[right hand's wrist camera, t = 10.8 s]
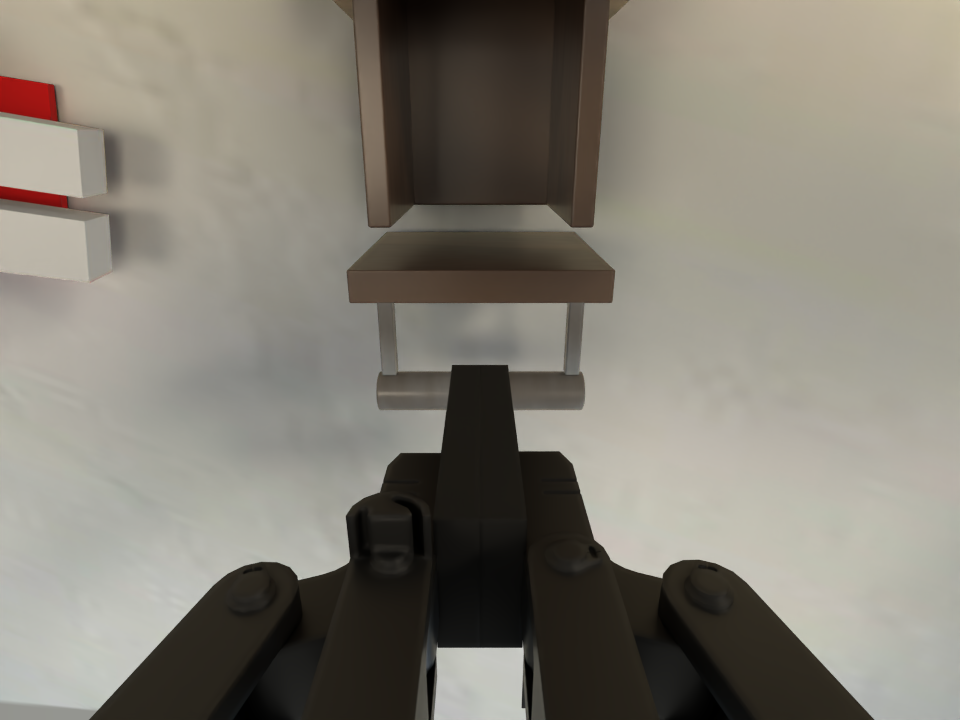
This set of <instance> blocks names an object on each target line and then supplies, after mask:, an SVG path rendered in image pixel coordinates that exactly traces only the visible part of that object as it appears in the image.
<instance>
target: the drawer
mask: <svg viewBox="0 0 960 720" xmlns="http://www.w3.org/2000/svg"><path fill="white" fill-rule="evenodd" d="M352 11H353V25H354V38H355V52H356V66H357V79H358V93H359V106H360V120H361V134H362V147H363V161H364V175H365V188H366V202H367V216H368V226H369V227H371V228H389V227H391V226H392V225H393V224H394V223H395V222H396V221H397V220H399V219H400V218H401V217H402V216H403V215H404V214H405V213H406V212H407V211H408V210H409V209H410V208H411V207H412V206H413V205H548V206H549V207H550V208H551V209H552V210H553V211H555V212H556V213H557V214H558V215H559V216H560V217H561V218H562V219H563V220H564V221H565V222H566V223H568V224H569V225H570V226H571V227H593V225H594V213H595V199H596V186H597V172H598V159H599V145H600V132H601V118H602V105H603V91H604V78H605V65H606V51H607V38H608V24H609V11H610V0H352ZM614 278H615V270H614V269H613V268H612V267H611V266H610V265H609V264H608V263H606V262H605V261H604V260H603V259H602V258H601V257H600V256H599V255H598V254H597V253H596V252H595V251H594V250H593V249H592V248H591V247H590V246H589V245H588V244H586V243H585V242H584V241H583V240H582V239H581V238H580V237H579V236H578V235H577V234H576V233H575V232H386V233H385V234H384V235H383V236H382V237H381V238H380V239H379V240H378V241H377V242H376V243H375V244H374V245H373V246H372V247H371V248H370V249H369V250H368V251H367V252H366V253H365V254H364V255H363V256H362V257H360V258H359V259H358V260H357V261H356V262H355V263H354V264H353V265H352V266H351V267H350V268H349V269H348V270H347V280H348V291H349V302H350V303H377V307H378V321H379V335H380V349H381V363H382V372H380V373H379V375H378V379H377V404H378V407H379V409H380V410H447V403H448V395H449V387H450V379H451V372H398V359H397V342H396V325H395V308H394V303H567V319H566V336H565V353H564V371H528V372H509V379H510V387H511V395H512V403H513V410H582V409H583V406H584V401H585V383H584V377H583V374H582V372H580V371H579V370H580V356H581V342H582V328H583V314H584V303H612V300H613V289H614Z"/></svg>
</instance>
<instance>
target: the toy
mask: <svg viewBox="0 0 960 720" xmlns="http://www.w3.org/2000/svg"><path fill="white" fill-rule="evenodd" d="M105 193H107V178H106V163H105V147H104V131H103V130H102V129H97V128H91V127H85V126H79V125H74V124H68V123H62V122H58V118H57V109H56V100H55V92H54V85H52V84H46V83H40V82H33V81H27V80H21V79H15V78H9V77H3V76H0V272H5V273H13V274H22V275H30V276H38V277H46V278H54V279H62V280H70V281H78V282H86V283H90V282H92V281H94V280H96V279H98V278H100V277H102V276H104V275H106V274H109V273H111V272H112V257H111V241H110V226H109V214H102V213H95V212H88V211H81V210H75V209H68V205H67V197H66V196H71V197H78V198H86V197H91V196H95V195H100V194H105Z"/></svg>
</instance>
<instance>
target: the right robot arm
mask: <svg viewBox="0 0 960 720" xmlns="http://www.w3.org/2000/svg"><path fill="white" fill-rule="evenodd" d="M346 522H347V532H348V541H349V550H350V561H349V563H348V564H347V565H345V566H343V567H341V568H339V569H337V570H335V571H332V572H329V573H326V574H323V575H319V576H315V577H311V578H306V579H302V580H298V579H297V575H296V574H295V573H294V572H293V571H292V569H291V568H290V567H288V566H285V565H283V564H280V563H277V562H259V563H255V564H250V565H246V566H243V567H241V568H239V569H237V570H235V571H233V572H231V573H228V574H227V575H226V576H224V577H223V578H222V579H221V580H220V581H218V582H217V583H216V584H215V585H214V586H213V587H212V588H211V589H210V590H209V591H208V592H207V593H206V594H205V595H204V596H203V597H202V599H201V600H200V601H199V602H198V603H197V604H196V605H195V606H194V607H193V608H192V609H191V610H190V611H189V613H188V614H187V615H186V616H185V617H184V618H183V619H182V620H181V621H180V622H179V623H178V624H177V625H176V627H175V628H174V629H173V630H172V631H171V632H170V633H169V634H168V635H167V636H166V637H165V638H164V640H163V641H162V642H161V643H160V644H159V645H158V646H157V647H156V648H155V649H154V650H153V651H152V652H151V654H150V655H149V656H148V657H147V658H146V659H145V660H144V661H143V662H142V663H141V664H140V665H139V667H138V668H137V669H136V670H135V671H134V672H133V673H132V674H131V675H130V676H129V677H128V678H127V679H126V681H125V682H124V683H123V684H122V685H121V686H120V687H119V688H118V689H117V690H116V691H115V692H114V694H113V695H112V696H111V697H110V698H109V699H108V700H107V701H106V702H105V703H104V704H103V705H102V706H101V708H100V709H99V710H98V711H97V712H96V713H95V714H94V715H93V716H92V717H91V718H90V719H89V720H434V709H435V696H436V683H437V663H436V650H437V645H438V648H522V645H523V648H524V663H523V688H522V708H526V720H874V719H873V718H872V717H871V716H870V715H869V714H868V713H867V711H866V710H865V709H864V708H863V707H862V706H861V705H860V704H859V703H858V702H857V701H856V700H855V699H854V697H853V696H852V695H851V694H850V693H849V692H848V691H847V690H846V689H845V688H844V687H843V686H842V685H841V684H840V682H839V681H838V680H837V679H836V678H835V677H834V676H833V675H832V674H831V673H830V672H829V671H828V670H827V669H826V667H825V666H824V665H823V664H822V663H821V662H820V661H819V660H818V659H817V658H816V657H815V656H814V655H813V654H812V652H811V651H810V650H809V649H808V648H807V647H806V646H805V645H804V644H803V643H802V642H801V641H800V640H799V639H798V637H797V636H796V635H795V634H794V633H793V632H792V631H791V630H790V629H789V628H788V627H787V626H786V625H785V623H784V622H783V621H782V620H781V619H780V618H779V617H778V616H777V615H776V614H775V613H774V612H773V611H772V610H771V608H770V607H769V606H768V605H767V604H766V603H765V602H764V601H763V600H762V599H761V598H760V597H759V596H758V595H757V593H756V592H755V591H754V590H753V589H752V588H751V587H750V586H749V585H748V584H747V583H746V582H745V581H744V580H742V579H741V578H740V577H739V576H738V575H736V574H735V573H734V572H732V571H730V570H728V569H726V568H724V567H722V566H720V565H718V564H715V563H711V562H706V561H702V560H682V561H680V562H677V563H675V564H672V565H670V566H669V568H668V569H667V570H666V571H665V572H664V573H663V579H662V578H658V577H654V576H650V575H646V574H642V573H638V572H635V571H631V570H628V569H625V568H623V567H621V566H619V565H618V564H616V563H614V562H612V561H611V560H610V558H609V556H608V554H607V553H606V551H605V549H604V547H602V546H601V545H600V544H599V543H597V542H596V541H595V540H594V537H593V534H592V530H591V527H590V524H589V520H588V517H587V513H586V510H585V506H584V503H583V499H582V496H581V494H580V489H579V485H578V482H577V478H576V475H575V471H574V468H573V465H572V463H571V462H570V461H569V460H568V459H567V458H566V457H565V456H564V455H562V454H561V453H560V452H559V451H518V443H517V435H516V427H515V419H514V411H513V403H512V395H511V387H510V379H509V371H508V365H452V371H451V379H450V387H449V395H448V403H447V411H446V419H445V427H444V435H443V443H442V450H441V453H400V454H399V455H398V456H397V457H396V458H395V459H394V460H393V461H392V462H391V463H390V464H389V465H388V467H387V470H386V474H385V477H384V482H383V484H382V488H381V491H380V493H377V494H374V495H371V496H368V497H366V498H363V499H362V500H361V501H359V502H358V503H356V504H355V505H353V506H352V508H351V509H350V511H349V512H348V514H347V515H346Z"/></svg>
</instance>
